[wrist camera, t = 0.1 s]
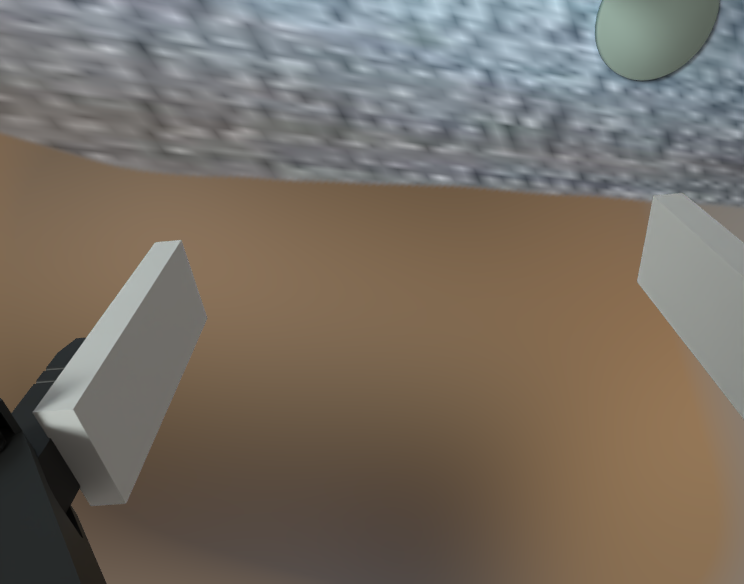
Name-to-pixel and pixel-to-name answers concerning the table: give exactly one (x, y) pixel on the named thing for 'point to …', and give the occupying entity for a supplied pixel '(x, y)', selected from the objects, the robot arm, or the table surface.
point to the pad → (652, 34)
